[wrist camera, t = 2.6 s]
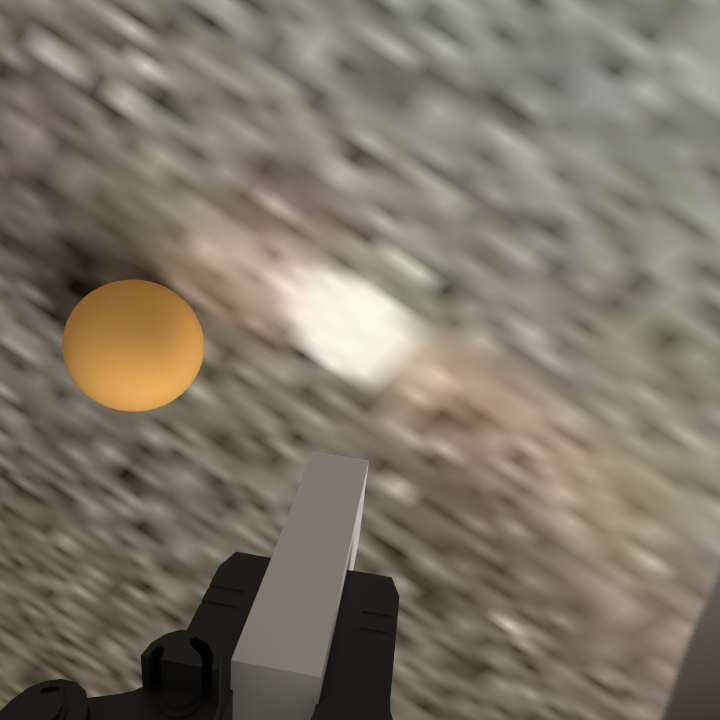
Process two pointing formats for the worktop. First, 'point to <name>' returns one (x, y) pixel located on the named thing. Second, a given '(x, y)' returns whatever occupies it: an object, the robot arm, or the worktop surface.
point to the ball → (133, 345)
